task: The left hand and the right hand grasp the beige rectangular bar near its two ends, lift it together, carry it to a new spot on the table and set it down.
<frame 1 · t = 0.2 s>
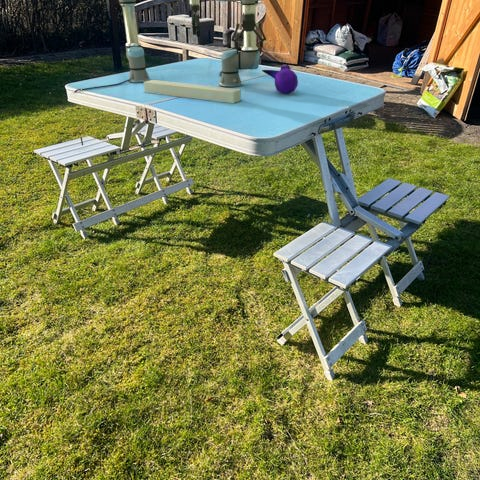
left hand: (196, 35, 349), 28 cm above the table, tool pointing down, fingers open, 13 cm apart
right hand: (248, 53, 264), 28 cm above the table, tool pointing down, fingers open, 13 cm apart
toy: (281, 92, 298), on the table
beige rectangular bar: (190, 96, 293), on the table
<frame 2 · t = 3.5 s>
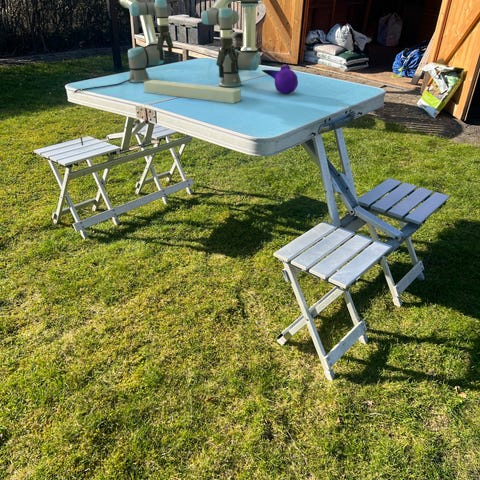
left hand: (166, 59, 311), 18 cm above the table, tool pointing down, fingers open, 13 cm apart
right hand: (227, 75, 273), 15 cm above the table, tool pointing down, fingers open, 13 cm apart
nothing on the table moved.
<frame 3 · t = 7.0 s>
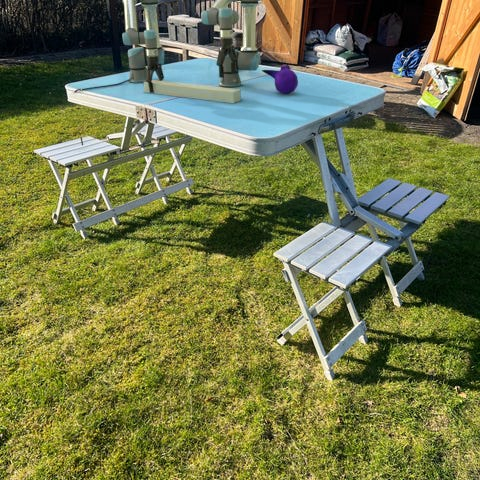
left hand: (156, 91, 306), 0 cm above the table, tool pointing down, fingers closed on beige rectangular bar, 9 cm apart
right hand: (227, 75, 273), 15 cm above the table, tool pointing down, fingers open, 13 cm apart
beige rectangular bar: (190, 96, 293), on the table, touching left hand
everything else where it was.
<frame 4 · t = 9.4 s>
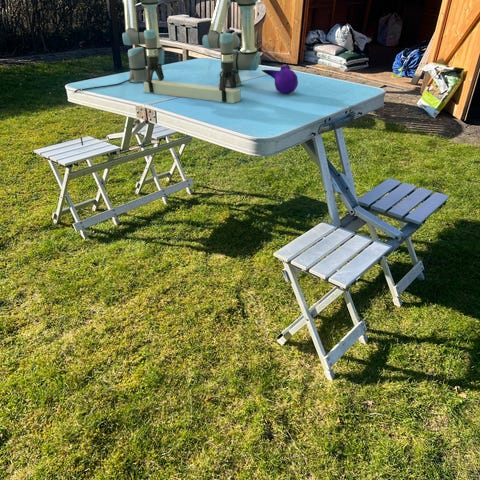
left hand: (156, 91, 306), 0 cm above the table, tool pointing down, fingers closed on beige rectangular bar, 9 cm apart
right hand: (228, 100, 280), 0 cm above the table, tool pointing down, fingers closed on beige rectangular bar, 9 cm apart
beige rectangular bar: (190, 96, 293), on the table, touching left hand, right hand
everything else where it was.
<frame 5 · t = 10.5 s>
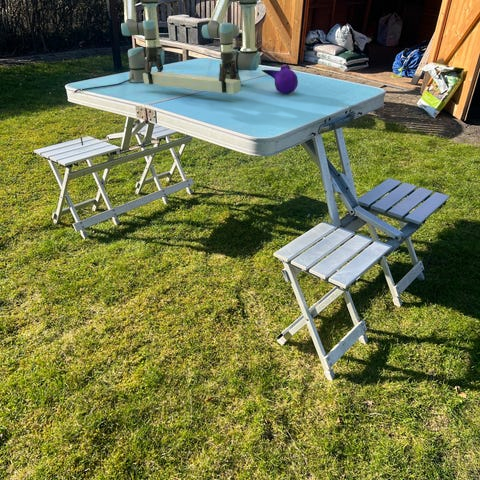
left hand: (155, 82, 304), 6 cm above the table, tool pointing down, fingers closed on beige rectangular bar, 9 cm apart
right hand: (228, 90, 278), 6 cm above the table, tool pointing down, fingers closed on beige rectangular bar, 9 cm apart
beige rectangular bar: (190, 87, 291), point 5 cm above the table, touching left hand, right hand
everything else where it was.
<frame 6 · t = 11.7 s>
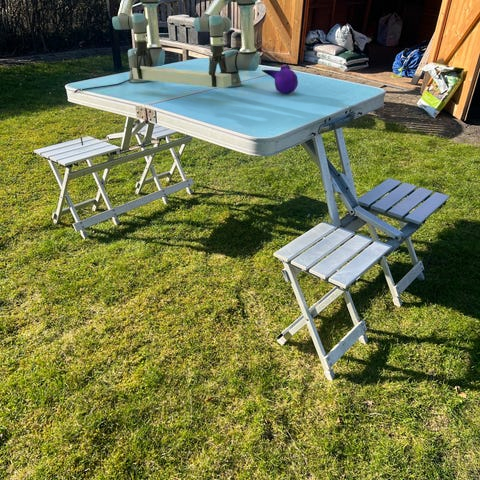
left hand: (145, 77, 298), 10 cm above the table, tool pointing down, fingers closed on beige rectangular bar, 9 cm apart
right hand: (218, 85, 272), 10 cm above the table, tool pointing down, fingers closed on beige rectangular bar, 9 cm apart
beige rectangular bar: (180, 82, 285), point 10 cm above the table, touching left hand, right hand
everything else where it was.
when the left hand's fingers open (1 cm above the table, at t = 14.1 s): beige rectangular bar stays where it is, on the table.
when the right hand's fingers open (1 cm above the table, at t = 14.1 s): beige rectangular bar stays where it is, on the table.
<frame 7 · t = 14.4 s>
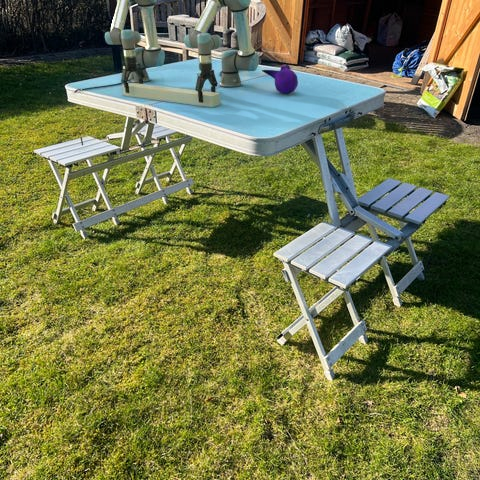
left hand: (134, 90, 297), 3 cm above the table, tool pointing down, fingers open, 13 cm apart
right hand: (207, 100, 271), 3 cm above the table, tool pointing down, fingers open, 13 cm apart
beige rectangular bar: (169, 99, 286), on the table
everything else where it was.
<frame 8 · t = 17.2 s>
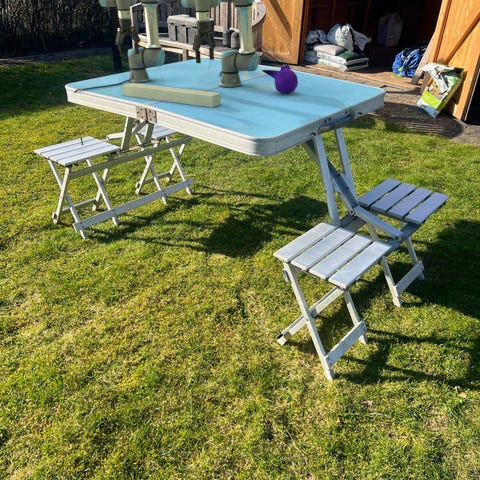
left hand: (130, 55, 286), 25 cm above the table, tool pointing down, fingers open, 13 cm apart
right hand: (205, 61, 260), 25 cm above the table, tool pointing down, fingers open, 13 cm apart
nothing on the table moved.
at the end: beige rectangular bar inside the target area (0.3 cm from its centre), on the table; beige rectangular bar tilted 0°; beige rectangular bar never tilted more than 2° during the clip; both hands held the beige rectangular bar at the same time; the left hand is holding nothing; the right hand is holding nothing; beige rectangular bar at rest at the end (0.0 cm/s) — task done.
